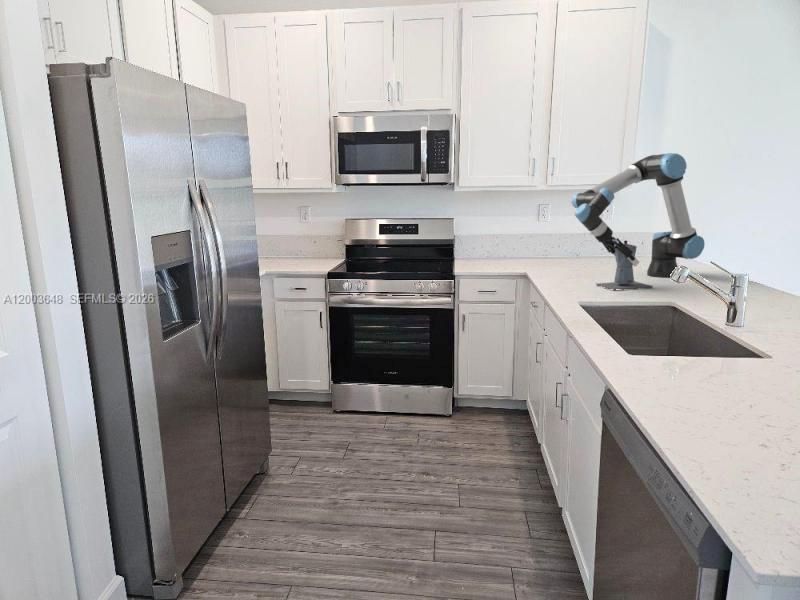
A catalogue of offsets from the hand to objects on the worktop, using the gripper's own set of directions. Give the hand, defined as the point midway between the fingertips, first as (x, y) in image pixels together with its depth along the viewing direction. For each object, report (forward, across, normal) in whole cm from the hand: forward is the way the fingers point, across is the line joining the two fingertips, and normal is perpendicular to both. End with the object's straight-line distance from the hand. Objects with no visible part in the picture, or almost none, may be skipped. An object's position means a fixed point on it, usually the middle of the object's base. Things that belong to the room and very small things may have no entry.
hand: (630, 262), depth 250 cm
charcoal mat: (+6, 0, -10) cm, 12 cm away
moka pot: (+4, 0, -9) cm, 10 cm away
